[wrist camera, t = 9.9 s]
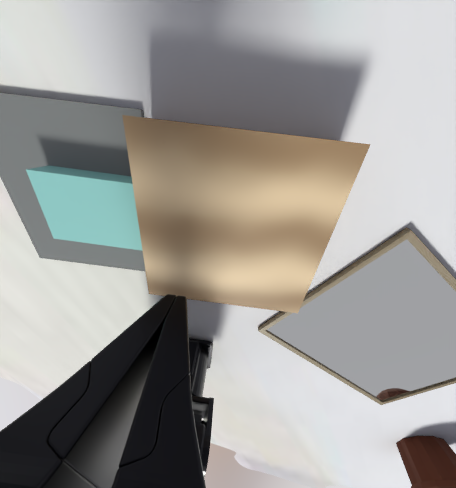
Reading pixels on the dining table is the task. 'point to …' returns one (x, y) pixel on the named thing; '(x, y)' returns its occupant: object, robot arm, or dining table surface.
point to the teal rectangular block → (87, 206)
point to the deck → (236, 209)
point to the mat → (62, 164)
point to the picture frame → (379, 322)
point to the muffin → (428, 462)
